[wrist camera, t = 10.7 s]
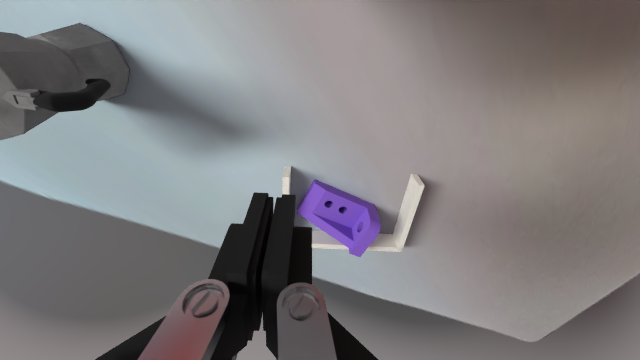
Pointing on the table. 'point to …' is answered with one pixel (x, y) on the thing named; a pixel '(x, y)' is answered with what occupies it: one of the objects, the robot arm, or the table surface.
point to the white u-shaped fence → (382, 240)
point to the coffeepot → (56, 75)
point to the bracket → (341, 216)
